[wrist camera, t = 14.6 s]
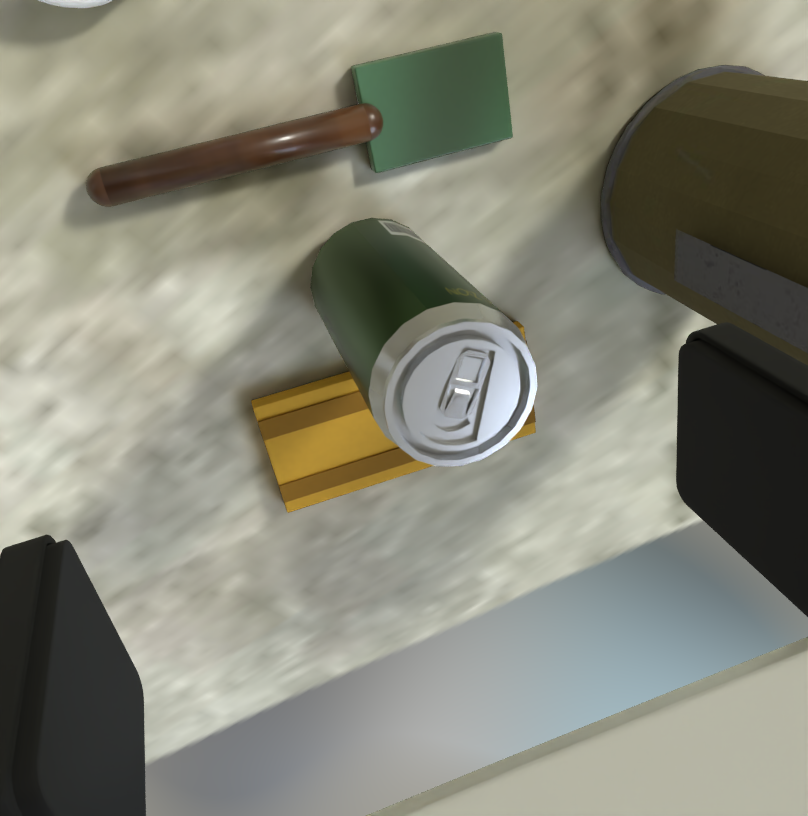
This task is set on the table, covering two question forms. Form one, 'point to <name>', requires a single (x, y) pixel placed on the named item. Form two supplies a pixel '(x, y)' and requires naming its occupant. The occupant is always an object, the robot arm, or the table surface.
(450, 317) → the beer can
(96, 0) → the rose
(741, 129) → the canister
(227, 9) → the table surface
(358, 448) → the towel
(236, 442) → the table surface
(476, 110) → the spatula
